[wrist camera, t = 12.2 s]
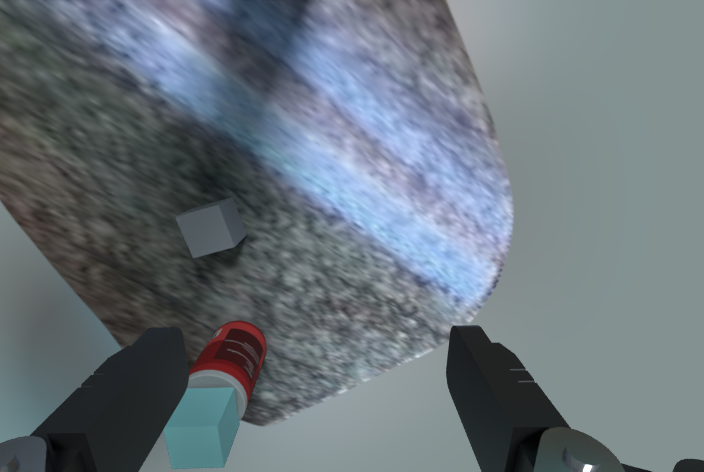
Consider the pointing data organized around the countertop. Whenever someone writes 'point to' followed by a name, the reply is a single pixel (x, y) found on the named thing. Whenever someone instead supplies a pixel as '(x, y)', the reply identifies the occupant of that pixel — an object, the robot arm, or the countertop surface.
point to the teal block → (202, 428)
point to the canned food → (231, 361)
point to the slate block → (212, 227)
